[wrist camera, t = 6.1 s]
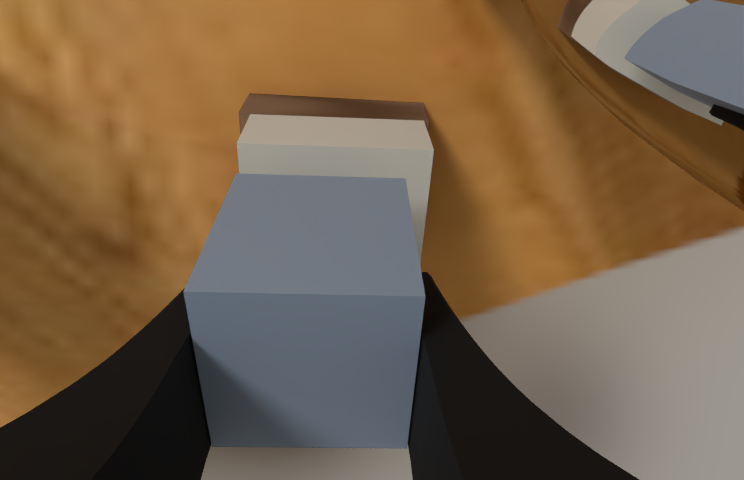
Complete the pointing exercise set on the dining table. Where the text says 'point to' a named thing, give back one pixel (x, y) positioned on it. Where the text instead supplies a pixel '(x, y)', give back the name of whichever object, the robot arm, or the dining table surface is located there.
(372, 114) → the base slab
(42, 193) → the dining table surface
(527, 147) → the dining table surface
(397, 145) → the mid slab
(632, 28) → the beer glass
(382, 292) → the blue block
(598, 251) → the dining table surface
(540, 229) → the dining table surface
